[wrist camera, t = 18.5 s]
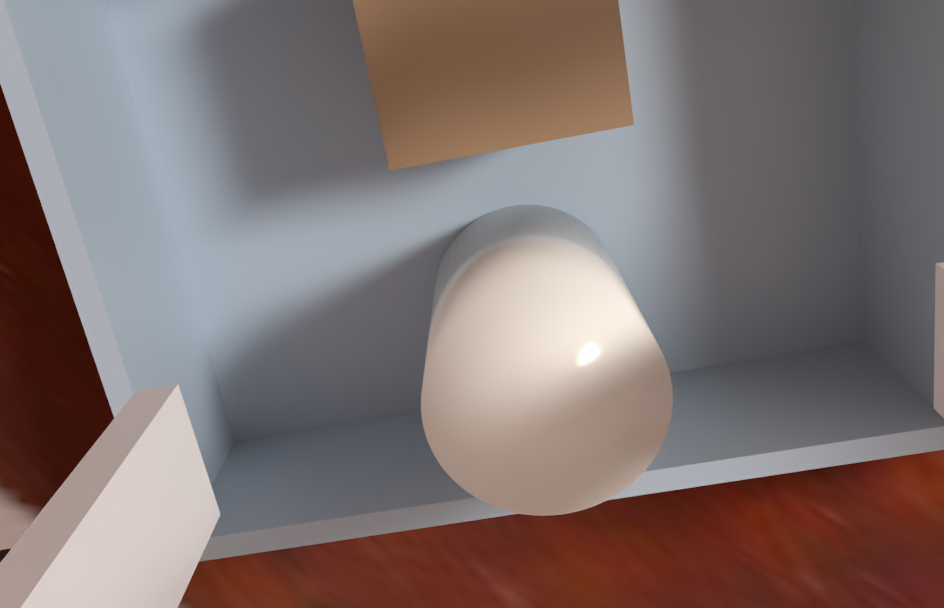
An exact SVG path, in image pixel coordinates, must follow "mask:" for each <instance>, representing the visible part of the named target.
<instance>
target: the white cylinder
mask: <svg viewBox="0 0 944 608" xmlns="http://www.w3.org/2000/svg"><path fill="white" fill-rule="evenodd" d="M672 406H673V390H672V382H671V377H670V372H669V369H668V366H667V363H666V360H665V357H664V355H663V353H662V351H661V349H660V348H659V346H658V344H657V342H656V340H655V338H654V336H653V334H652V332H651V330H650V329H649V327H648V325H647V323H646V321H645V319H644V317H643V315H642V314H641V312H640V310H639V308H638V306H637V304H636V302H635V300H634V299H633V297H632V295H631V293H630V291H629V289H628V287H627V285H626V284H625V282H624V280H623V278H622V276H621V274H620V272H619V270H618V269H617V267H616V265H615V263H614V261H613V259H612V257H611V255H610V254H609V252H608V250H607V248H606V246H605V245H604V243H603V242H602V241H601V239H600V238H599V236H598V235H597V234H596V233H595V232H594V231H593V230H592V229H591V228H590V227H589V226H587V225H586V224H585V223H584V222H582V221H581V220H579V219H578V218H576V217H574V216H573V215H571V214H569V213H566V212H564V211H562V210H559V209H555V208H552V207H548V206H542V205H528V204H523V205H514V206H508V207H504V208H500V209H497V210H495V211H492V212H489V213H487V214H485V215H483V216H481V217H480V218H478V219H476V220H475V221H473V222H472V223H471V224H469V225H468V226H467V227H465V228H464V229H463V230H462V231H461V232H460V233H459V234H458V235H457V236H456V238H455V239H454V240H453V241H452V242H451V244H450V245H449V247H448V249H447V250H446V252H445V253H444V256H443V258H442V260H441V262H440V265H439V268H438V272H437V275H436V282H435V289H434V297H433V305H432V313H431V321H430V329H429V337H428V345H427V353H426V361H425V369H424V377H423V385H422V393H421V415H422V422H423V428H424V431H425V435H426V438H427V441H428V443H429V446H430V448H431V450H432V452H433V454H434V456H435V457H436V459H437V461H438V462H439V464H440V465H441V467H442V468H443V469H444V470H445V472H446V473H447V474H448V475H449V476H450V478H451V479H453V480H454V481H455V482H456V483H457V484H458V485H459V486H460V487H461V488H463V489H464V490H465V491H467V492H468V493H470V494H471V495H473V496H474V497H476V498H478V499H480V500H481V501H483V502H485V503H487V504H489V505H492V506H495V507H497V508H500V509H503V510H506V511H510V512H514V513H519V514H527V515H542V516H550V515H561V514H567V513H572V512H577V511H581V510H584V509H587V508H590V507H593V506H596V505H598V504H600V503H602V502H604V501H606V500H609V499H610V498H612V497H613V496H615V495H617V494H618V493H620V492H622V491H623V490H624V489H626V488H627V487H628V486H629V485H631V484H632V483H633V482H634V481H635V480H636V479H637V478H638V477H639V476H640V475H641V474H642V473H643V472H644V471H645V470H646V469H647V467H648V466H649V465H650V464H651V462H652V461H653V460H654V458H655V456H656V455H657V453H658V451H659V449H660V448H661V446H662V444H663V441H664V439H665V437H666V434H667V432H668V428H669V424H670V420H671V415H672Z"/></svg>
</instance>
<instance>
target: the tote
mask: <svg viewBox="0 0 944 608" xmlns="http://www.w3.org/2000/svg"><path fill="white" fill-rule="evenodd" d="M618 2H619V10H620V18H621V26H622V34H623V41H624V49H625V57H626V65H627V73H628V81H629V89H630V97H631V105H632V113H633V121H634V125H631V126H626V127H621V128H615V129H610V130H605V131H599V132H594V133H589V134H583V135H578V136H573V137H567V138H562V139H557V140H551V141H546V142H541V143H535V144H530V145H525V146H519V147H514V148H509V149H503V150H498V151H493V152H487V153H482V154H477V155H471V156H466V157H461V158H455V159H450V160H445V161H439V162H434V163H429V164H423V165H418V166H413V167H407V168H402V169H397V170H391V171H390V169H389V164H388V160H387V155H386V150H385V146H384V141H383V137H382V132H381V128H380V123H379V119H378V114H377V109H376V105H375V100H374V96H373V91H372V87H371V82H370V78H369V73H368V68H367V64H366V59H365V55H364V50H363V46H362V41H361V37H360V32H359V27H358V23H357V18H356V14H355V9H354V5H353V0H0V84H1V87H2V90H3V93H4V96H5V99H6V102H7V105H8V108H9V111H10V114H11V117H12V119H13V122H14V125H15V128H16V131H17V134H18V137H19V140H20V143H21V146H22V149H23V152H24V155H25V158H26V161H27V164H28V167H29V169H30V172H31V175H32V178H33V181H34V184H35V187H36V190H37V193H38V196H39V199H40V202H41V205H42V208H43V211H44V214H45V216H46V219H47V222H48V225H49V228H50V231H51V234H52V237H53V240H54V243H55V246H56V249H57V252H58V255H59V258H60V261H61V263H62V266H63V269H64V272H65V275H66V278H67V281H68V284H69V287H70V290H71V293H72V296H73V299H74V302H75V305H76V308H77V310H78V313H79V316H80V319H81V322H82V325H83V328H84V331H85V334H86V337H87V340H88V343H89V346H90V349H91V352H92V355H93V357H94V360H95V363H96V366H97V369H98V372H99V375H100V378H101V381H102V384H103V387H104V390H105V393H106V396H107V399H108V402H109V404H110V407H111V410H112V413H113V416H114V418H115V417H116V416H117V414H118V413H119V412H120V411H121V409H122V408H123V407H124V405H125V404H126V403H127V402H128V400H129V399H130V398H131V397H132V395H133V394H134V393H135V392H136V390H142V389H148V388H154V387H161V386H167V385H173V384H178V385H179V388H180V391H181V394H182V397H183V400H184V403H185V406H186V409H187V413H188V416H189V419H190V422H191V425H192V428H193V431H194V434H195V437H196V440H197V443H198V446H199V449H200V453H201V456H202V459H203V462H204V465H205V468H206V471H207V474H208V477H209V480H210V483H211V486H212V489H213V493H214V496H215V499H216V502H217V505H218V508H219V511H220V517H219V519H218V521H217V523H216V525H215V527H214V530H213V532H212V534H211V536H210V538H209V540H208V543H207V545H206V547H205V549H204V551H203V554H202V556H201V558H200V560H199V562H200V561H206V560H213V559H220V558H226V557H233V556H240V555H246V554H253V553H260V552H266V551H273V550H280V549H286V548H293V547H299V546H306V545H313V544H319V543H326V542H333V541H339V540H346V539H353V538H359V537H366V536H373V535H379V534H386V533H393V532H399V531H406V530H412V529H419V528H426V527H432V526H439V525H446V524H452V523H459V522H466V521H472V520H479V519H486V518H492V517H499V516H506V515H512V514H519V513H514V512H510V511H506V510H503V509H500V508H497V507H495V506H492V505H489V504H487V503H485V502H483V501H481V500H480V499H478V498H476V497H474V496H473V495H471V494H470V493H468V492H467V491H465V490H464V489H463V488H461V487H460V486H459V485H458V484H457V483H456V482H455V481H454V480H453V479H451V478H450V476H449V475H448V474H447V473H446V472H445V470H444V469H443V468H442V467H441V465H440V464H439V462H438V461H437V459H436V457H435V456H434V454H433V452H432V450H431V448H430V446H429V443H428V441H427V438H426V435H425V431H424V428H423V422H422V415H421V393H422V385H423V377H424V369H425V361H426V353H427V345H428V337H429V329H430V321H431V313H432V305H433V297H434V289H435V282H436V275H437V272H438V268H439V265H440V262H441V260H442V258H443V256H444V253H445V252H446V250H447V249H448V247H449V245H450V244H451V242H452V241H453V240H454V239H455V238H456V236H457V235H458V234H459V233H460V232H461V231H462V230H463V229H464V228H465V227H467V226H468V225H469V224H471V223H472V222H473V221H475V220H476V219H478V218H480V217H481V216H483V215H485V214H487V213H489V212H492V211H495V210H497V209H500V208H504V207H508V206H514V205H523V204H528V205H542V206H548V207H552V208H555V209H559V210H562V211H564V212H566V213H569V214H571V215H573V216H574V217H576V218H578V219H579V220H581V221H582V222H584V223H585V224H586V225H587V226H589V227H590V228H591V229H592V230H593V231H594V232H595V233H596V234H597V235H598V236H599V238H600V239H601V241H602V242H603V243H604V245H605V246H606V248H607V250H608V252H609V254H610V255H611V257H612V259H613V261H614V263H615V265H616V267H617V269H618V270H619V272H620V274H621V276H622V278H623V280H624V282H625V284H626V285H627V287H628V289H629V291H630V293H631V295H632V297H633V299H634V300H635V302H636V304H637V306H638V308H639V310H640V312H641V314H642V315H643V317H644V319H645V321H646V323H647V325H648V327H649V329H650V330H651V332H652V334H653V336H654V338H655V340H656V342H657V344H658V346H659V348H660V349H661V351H662V353H663V355H664V357H665V360H666V363H667V366H668V369H669V372H670V377H671V382H672V390H673V406H672V415H671V420H670V424H669V428H668V432H667V434H666V437H665V439H664V441H663V444H662V446H661V448H660V449H659V451H658V453H657V455H656V456H655V458H654V460H653V461H652V462H651V464H650V465H649V466H648V467H647V469H646V470H645V471H644V472H643V473H642V474H641V475H640V476H639V477H638V478H637V479H636V480H635V481H634V482H633V483H632V484H631V485H629V486H628V487H627V488H626V489H624V490H623V491H622V492H620V493H618V494H617V495H615V496H613V497H612V498H610V499H609V500H612V499H619V498H625V497H632V496H638V495H645V494H652V493H658V492H665V491H672V490H678V489H685V488H692V487H698V486H705V485H712V484H718V483H725V482H732V481H738V480H745V479H751V478H758V477H765V476H771V475H778V474H785V473H791V472H798V471H805V470H811V469H818V468H825V467H831V466H838V465H845V464H851V463H858V462H864V461H871V460H878V459H884V458H891V457H898V456H904V455H911V454H918V453H924V452H931V451H938V450H944V418H943V417H942V416H941V415H940V414H939V413H938V412H937V411H936V410H935V409H934V341H935V271H936V263H942V262H944V0H618Z"/></svg>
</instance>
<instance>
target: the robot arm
mask: <svg viewBox="0 0 944 608" xmlns="http://www.w3.org/2000/svg"><path fill="white" fill-rule="evenodd" d="M934 409H935V410H936V411H937V412H938V413H939V414H940V415H941V416H942V417H943V418H944V262H942V263H936V271H935V341H934ZM219 517H220V511H219V508H218V505H217V502H216V499H215V496H214V493H213V489H212V486H211V483H210V480H209V477H208V474H207V471H206V468H205V465H204V462H203V459H202V456H201V453H200V449H199V446H198V443H197V440H196V437H195V434H194V431H193V428H192V425H191V422H190V419H189V416H188V413H187V409H186V406H185V403H184V400H183V397H182V394H181V391H180V388H179V385H178V384H173V385H167V386H161V387H154V388H148V389H142V390H136V392H135V393H134V394H133V395H132V397H131V398H130V399H129V400H128V402H127V403H126V404H125V405H124V407H123V408H122V409H121V411H120V412H119V413H118V414H117V416H116V417H115V418H114V419H113V421H112V422H111V423H110V424H109V426H108V427H107V428H106V430H105V431H104V432H103V433H102V435H101V436H100V437H99V438H98V440H97V441H96V442H95V443H94V445H93V446H92V447H91V449H90V450H89V451H88V452H87V454H86V455H85V456H84V457H83V459H82V460H81V461H80V462H79V464H78V465H77V466H76V467H75V469H74V470H73V471H72V473H71V474H70V475H69V476H68V478H67V479H66V480H65V481H64V483H63V484H62V485H61V486H60V488H59V489H58V490H57V492H56V493H55V494H54V495H53V497H52V498H51V499H50V500H49V502H48V503H47V504H46V505H45V507H44V508H43V509H42V511H41V512H40V513H39V514H38V516H37V517H36V518H35V519H34V521H33V522H32V523H31V524H30V526H29V527H28V528H27V530H26V531H25V532H24V533H23V535H22V536H21V537H20V538H19V540H18V541H17V542H16V543H15V545H14V546H13V547H12V548H11V549H6V550H1V551H0V608H178V606H179V603H180V601H181V599H182V597H183V595H184V593H185V590H186V588H187V586H188V584H189V582H190V580H191V577H192V575H193V573H194V571H195V569H196V567H197V564H198V562H199V560H200V558H201V556H202V554H203V551H204V549H205V547H206V545H207V543H208V540H209V538H210V536H211V534H212V532H213V530H214V527H215V525H216V523H217V521H218V519H219Z"/></svg>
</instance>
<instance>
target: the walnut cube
mask: <svg viewBox="0 0 944 608" xmlns="http://www.w3.org/2000/svg"><path fill="white" fill-rule="evenodd" d="M353 5H354V9H355V14H356V18H357V23H358V27H359V32H360V37H361V41H362V46H363V50H364V55H365V59H366V64H367V68H368V73H369V78H370V82H371V87H372V91H373V96H374V100H375V105H376V109H377V114H378V119H379V123H380V128H381V132H382V137H383V141H384V146H385V150H386V155H387V160H388V164H389V169H390V171H391V170H397V169H402V168H407V167H413V166H418V165H423V164H429V163H434V162H439V161H445V160H450V159H455V158H461V157H466V156H471V155H477V154H482V153H487V152H493V151H498V150H503V149H509V148H514V147H519V146H525V145H530V144H535V143H541V142H546V141H551V140H557V139H562V138H567V137H573V136H578V135H583V134H589V133H594V132H599V131H605V130H610V129H615V128H621V127H626V126H631V125H634V121H633V113H632V105H631V97H630V89H629V81H628V73H627V65H626V57H625V49H624V41H623V34H622V26H621V18H620V10H619V2H618V0H353Z"/></svg>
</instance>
